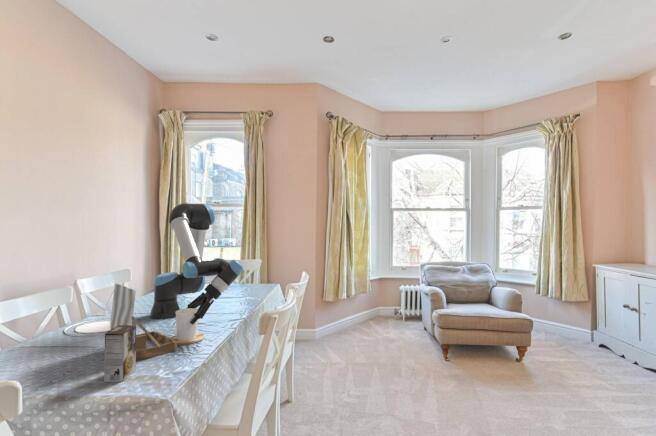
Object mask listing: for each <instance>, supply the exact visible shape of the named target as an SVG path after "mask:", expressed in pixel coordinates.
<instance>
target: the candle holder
mask: <svg viewBox="0 0 656 436" xmlns="http://www.w3.org/2000/svg"><path fill="white" fill-rule="evenodd" d="M198 309H199V308H195V309H194V308H187V307H186V308H181V309H180V310H177V311H176V312H175V313H176V316H175V326H176V327H175V331H176V332H175V333H176V334H175V335H177V339H178V340H181V341H186V340H192V339H194V338H196V336H197V333H198V326H199V325H198V321H199V319H198V320H197V321H196V322H195V324H194V325H193V326H192V327H191V328H190V329H189V330H188V331H186V330H185V329H184V328H183V326H184V325H185V324H186V323H187V322H188V320H189V319H190V318H191V317H192V316H193V314H195V313H196V312H197V310H198ZM194 316H195V315H194Z"/></svg>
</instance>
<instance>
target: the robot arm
mask: <svg viewBox="0 0 656 436" xmlns="http://www.w3.org/2000/svg"><path fill="white" fill-rule="evenodd" d="M172 208H173V209H171V212H170V213H169V216H168V223H169V226H170V229H172V230H173V231H174V234H175V237H176V240H177V243H178V245H179V248H180V251H181V254H182V258H183V259H184V263H183V265H182V267H181V273H179V274H178V272H175V271H172V272H169V271H168V272H164V273H160V274H158V275H156V276H155V277H154V283H153V285H154V288H153V289H154V293H153V295H154V297H153V298H154V299H153V305H152V307H151V310H150V314H149V315H150V316H149V317H150V318H152V319H159V320H160V319H170V318H176V313H175V312H176V311H177V310H180V306H179V302H178V296H179V295H189V294H196V293H200V292H201V291H203V290H204V291H205V292H201V294H200V295H198V296H197V297H196V298H195V299H193V300H192V301H190V303H188V304H187V307H186V309H187V308H194V309H198V310H197V312H196V313H195V314H193V316H192V317H191V318H190V319H189V320H188V322H187V323H186V324H185V325H184V326H183V328H184V329H185V330H186V331H188V330H189V329H190V328H191V327H192V326H193V325H194V324H195V322H196V321H197V320H198V321H199V320H200V319H201V320H202V319H203V318H204V317H205V315H206V313H207V312H208V310H209V309H210V308H211V306H212V305H213V303H214V302H215V300H218V299H219V298H220V297H221V296H222V293H224V292H225V291H226V290H228V288H229V287H230V286H231V285H232V284H233V282H234V281H235V280H236V279H237V278H238V277H239V276H240V275H241V273H242V272H243V271H244V267H243V266H242V264H241V263H240V262H238V260H236V259H231V260H230V261H227V260H225V259H224V258H220V257H217V258H214V259H211V260H203V253H204V248H205V241H206V239H205V238H206V232H207V231H208V230H210V226H212V225H213V224H215V219H216V217H215V216H216V214H215V211H214V208H213V206H211V205H210V204H205V203H187V202H184V203H183V202H182V203H180V204H177V205H176V206H175V207H172ZM214 276H215V277H214ZM206 277H214V278H213V279H212V280H211V281H210V283H209V284H208V285H207V286H205V285H206ZM204 287H205V288H204ZM194 315H195V316H194Z"/></svg>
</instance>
